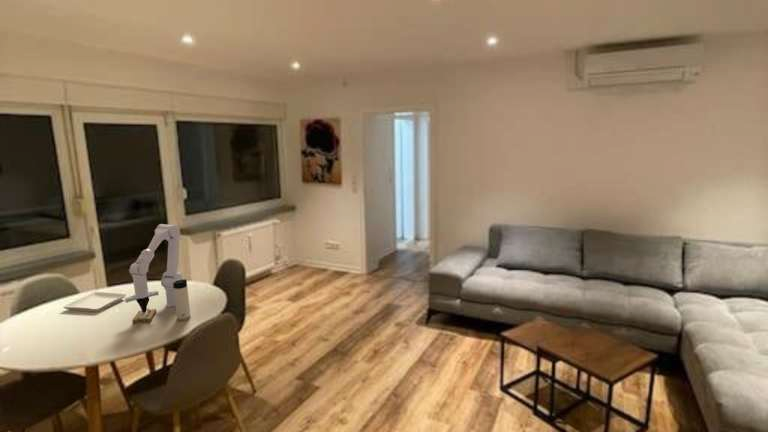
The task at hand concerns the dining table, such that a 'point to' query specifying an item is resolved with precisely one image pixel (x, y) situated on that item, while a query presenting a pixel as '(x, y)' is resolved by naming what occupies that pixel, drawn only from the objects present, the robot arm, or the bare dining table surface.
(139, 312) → the panel
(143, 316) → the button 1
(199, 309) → the dining table surface
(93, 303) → the salad plate
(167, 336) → the dining table surface
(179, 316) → the travel mug
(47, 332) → the dining table surface
